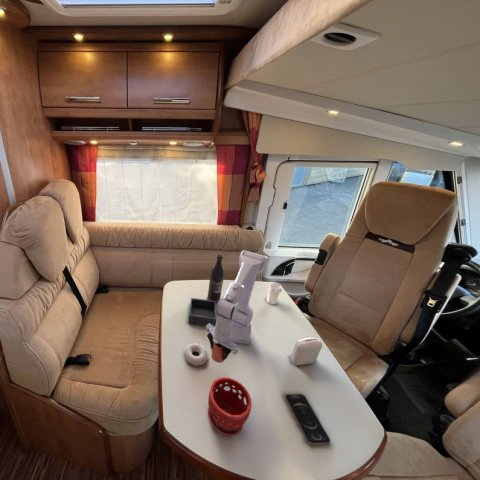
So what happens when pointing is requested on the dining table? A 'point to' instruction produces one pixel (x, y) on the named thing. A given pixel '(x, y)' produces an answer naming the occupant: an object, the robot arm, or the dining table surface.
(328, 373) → the dining table surface
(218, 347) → the terracotta cup
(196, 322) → the tote
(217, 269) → the wine bottle
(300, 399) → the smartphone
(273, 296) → the cup
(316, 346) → the photo printer
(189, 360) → the donut
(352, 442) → the dining table surface
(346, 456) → the dining table surface
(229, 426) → the flower pot
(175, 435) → the dining table surface
